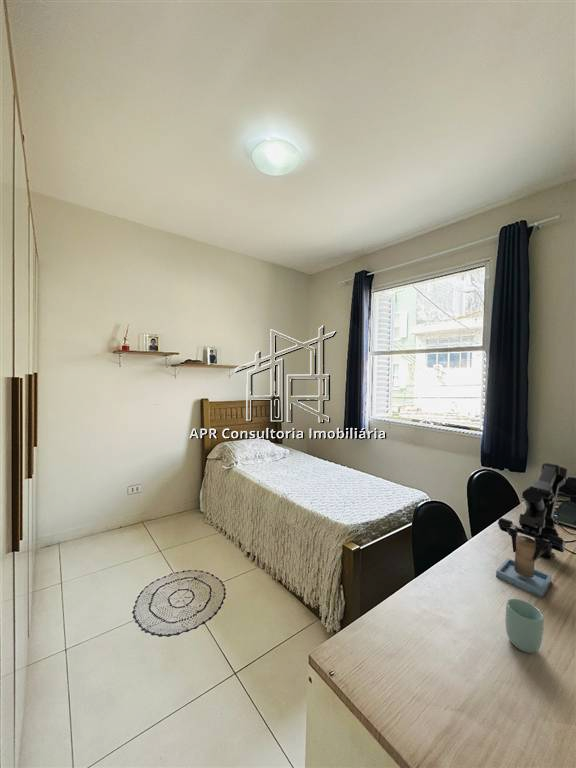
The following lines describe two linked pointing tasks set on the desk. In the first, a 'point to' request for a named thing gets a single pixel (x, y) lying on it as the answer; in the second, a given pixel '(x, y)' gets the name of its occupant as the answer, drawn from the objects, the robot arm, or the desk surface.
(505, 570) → the desk tray
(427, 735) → the desk surface
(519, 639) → the cup
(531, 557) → the cup
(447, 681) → the desk surface
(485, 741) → the desk surface
